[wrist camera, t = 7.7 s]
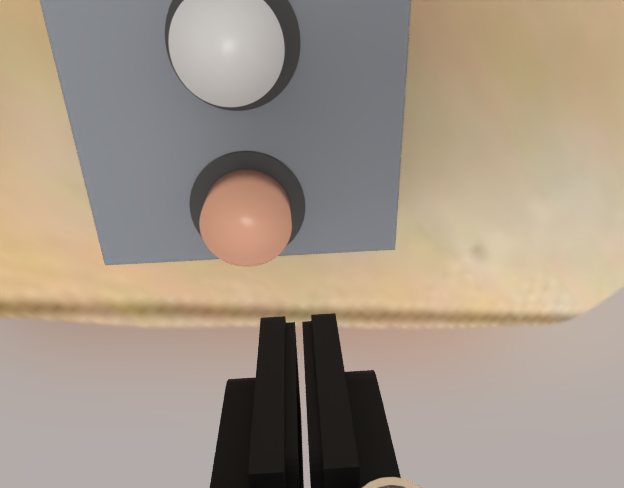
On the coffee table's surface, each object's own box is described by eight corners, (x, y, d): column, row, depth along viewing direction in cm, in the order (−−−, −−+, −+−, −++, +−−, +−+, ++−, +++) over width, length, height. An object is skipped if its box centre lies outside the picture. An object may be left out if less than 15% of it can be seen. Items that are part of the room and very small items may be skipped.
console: (402, -245, 21) (431, -301, 17) (380, 221, 30) (395, 251, 27) (20, -248, 20) (-39, -308, 16) (125, 233, 30) (104, 267, 26)
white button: (280, -16, 19) (281, -18, 17) (285, 97, 21) (287, 105, 19) (170, -14, 19) (159, -16, 17) (185, 100, 21) (177, 109, 19)
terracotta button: (288, 167, 24) (289, 180, 22) (292, 246, 26) (293, 264, 24) (199, 171, 24) (193, 185, 22) (209, 250, 26) (205, 268, 24)
